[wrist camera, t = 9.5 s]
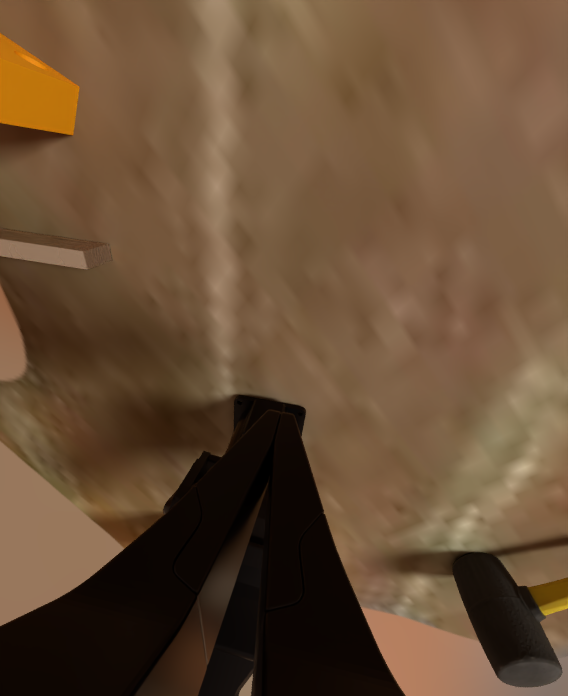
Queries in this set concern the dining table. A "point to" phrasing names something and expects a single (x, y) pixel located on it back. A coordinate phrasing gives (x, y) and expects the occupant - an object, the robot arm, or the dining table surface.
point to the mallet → (511, 619)
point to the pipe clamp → (34, 92)
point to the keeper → (53, 249)
